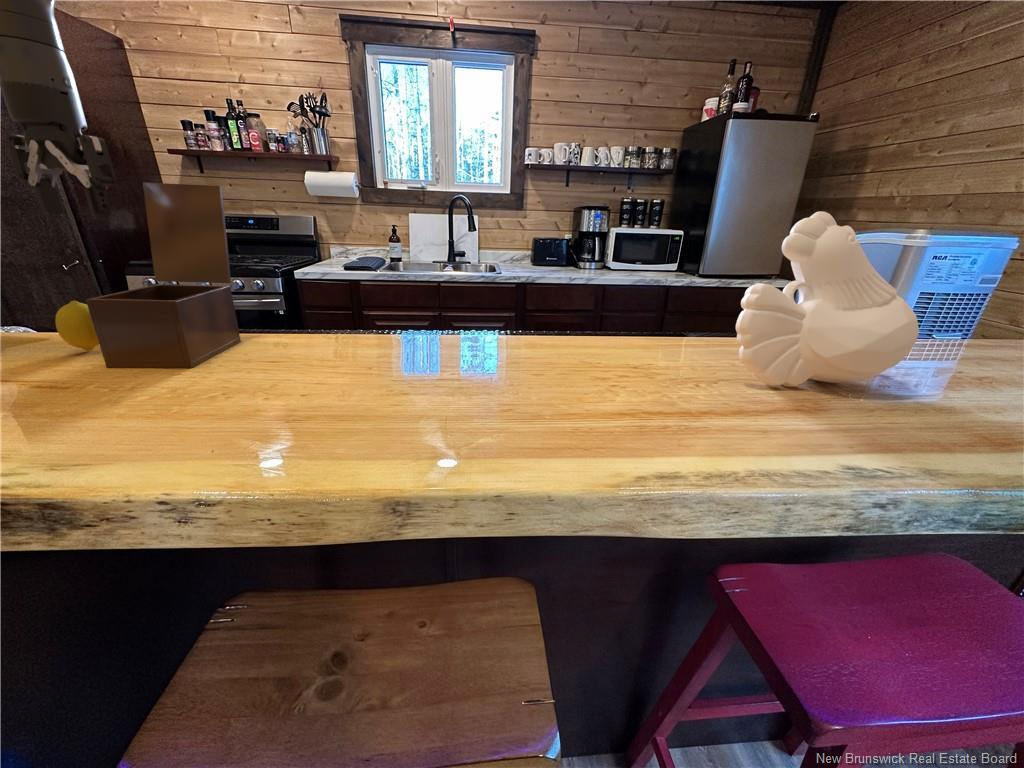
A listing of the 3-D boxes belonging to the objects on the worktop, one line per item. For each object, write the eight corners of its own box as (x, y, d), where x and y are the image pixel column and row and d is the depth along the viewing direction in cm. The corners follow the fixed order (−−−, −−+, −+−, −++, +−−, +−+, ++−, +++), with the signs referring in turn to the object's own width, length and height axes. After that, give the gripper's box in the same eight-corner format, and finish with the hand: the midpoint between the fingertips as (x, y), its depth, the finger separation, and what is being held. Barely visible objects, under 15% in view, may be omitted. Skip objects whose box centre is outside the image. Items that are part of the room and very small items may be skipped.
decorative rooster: (872, 330, 75) (802, 206, 71) (965, 336, 59) (882, 178, 56) (745, 411, 78) (672, 296, 74) (803, 438, 62) (714, 293, 59)
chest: (191, 368, 64) (175, 301, 60) (106, 367, 63) (85, 299, 59) (241, 341, 77) (230, 285, 74) (171, 340, 76) (157, 284, 73)
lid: (219, 185, 70) (222, 187, 71) (142, 182, 69) (146, 183, 70) (228, 283, 73) (231, 283, 74) (155, 281, 72) (158, 281, 73)
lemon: (69, 358, 66) (52, 305, 63) (61, 351, 69) (44, 300, 66) (117, 351, 70) (102, 301, 67) (107, 344, 73) (92, 296, 70)
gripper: (-40, 78, 56) (7, 213, 62) (50, 77, 54) (90, 217, 60) (30, 94, 63) (67, 214, 69) (112, 94, 61) (143, 217, 67)
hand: (77, 215), depth 64 cm, fingers open, 8 cm apart
